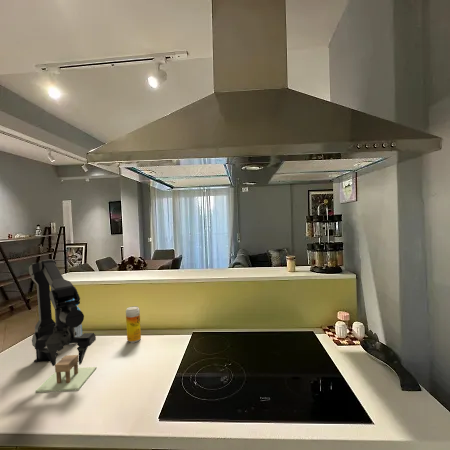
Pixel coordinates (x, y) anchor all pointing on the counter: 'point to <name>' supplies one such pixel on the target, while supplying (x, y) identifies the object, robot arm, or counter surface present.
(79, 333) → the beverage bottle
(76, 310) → the robot arm
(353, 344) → the counter surface
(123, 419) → the counter surface
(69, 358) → the walnut stool
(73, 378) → the sage board
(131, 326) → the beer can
